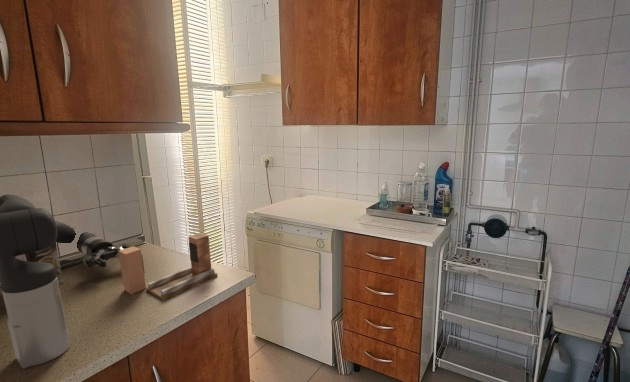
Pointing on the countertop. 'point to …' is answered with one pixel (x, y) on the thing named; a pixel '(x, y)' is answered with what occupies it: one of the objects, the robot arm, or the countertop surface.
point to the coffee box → (45, 258)
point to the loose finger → (132, 269)
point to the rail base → (187, 271)
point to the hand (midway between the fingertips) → (118, 260)
